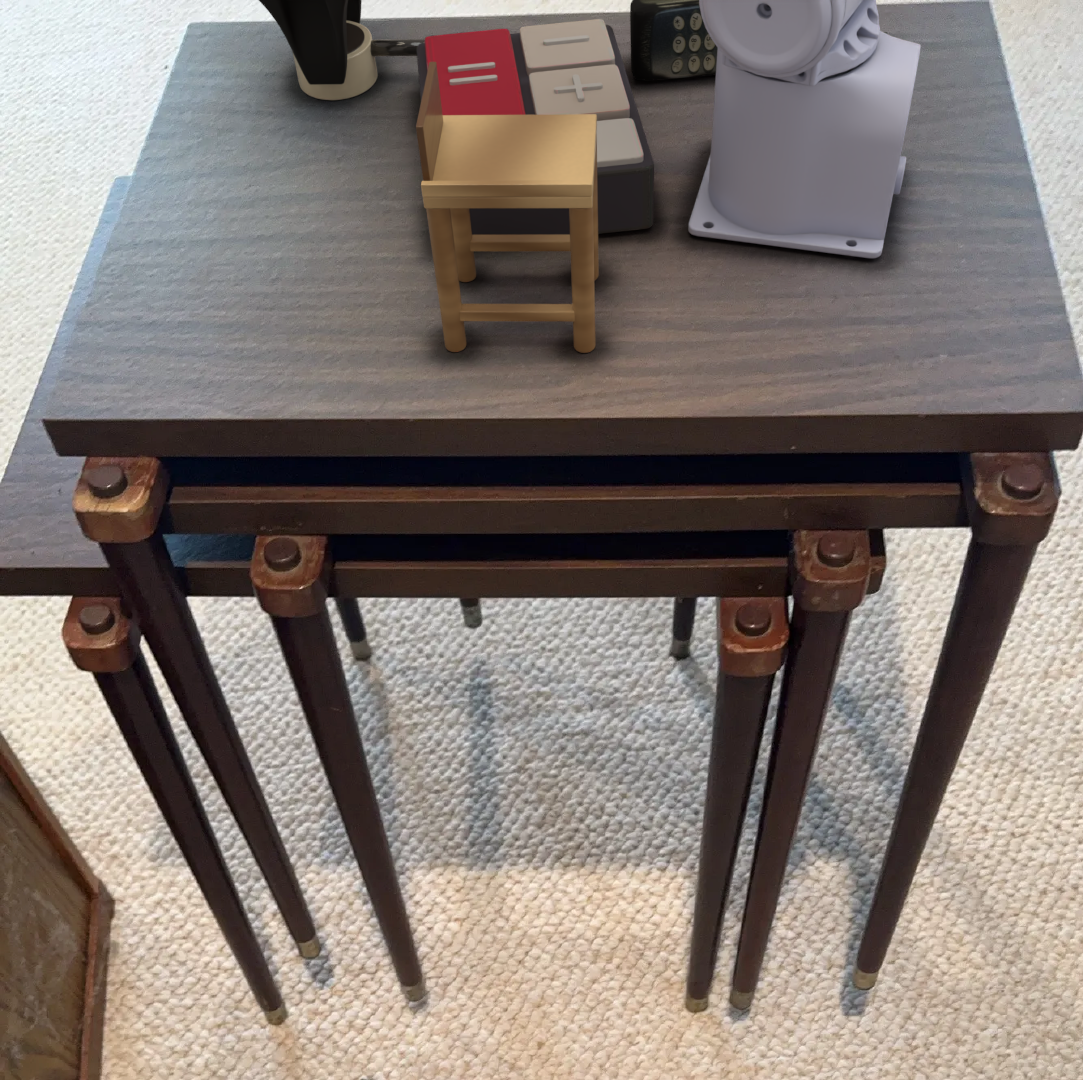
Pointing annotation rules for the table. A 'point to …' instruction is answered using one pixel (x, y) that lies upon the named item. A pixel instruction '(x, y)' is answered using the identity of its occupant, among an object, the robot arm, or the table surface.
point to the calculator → (551, 111)
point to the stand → (459, 244)
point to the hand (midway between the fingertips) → (334, 55)
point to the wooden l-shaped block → (503, 157)
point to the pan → (359, 63)
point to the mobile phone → (670, 40)
